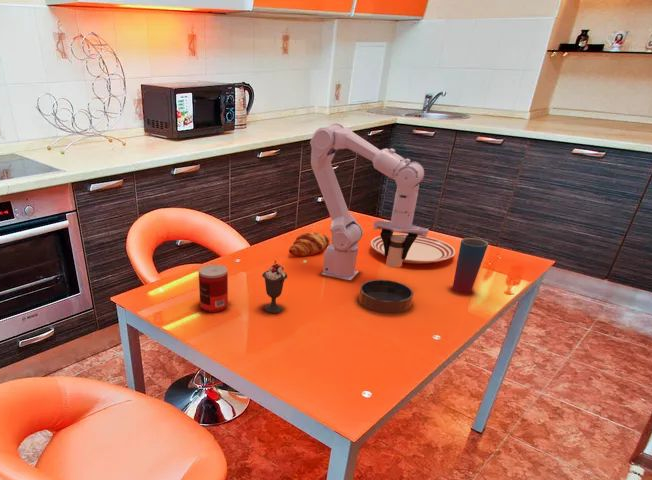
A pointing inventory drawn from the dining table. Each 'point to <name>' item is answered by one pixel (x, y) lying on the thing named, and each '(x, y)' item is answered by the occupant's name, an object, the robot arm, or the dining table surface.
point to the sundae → (274, 286)
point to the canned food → (213, 287)
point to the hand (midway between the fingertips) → (395, 256)
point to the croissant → (309, 244)
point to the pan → (385, 296)
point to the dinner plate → (420, 250)
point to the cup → (468, 264)
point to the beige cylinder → (395, 251)
